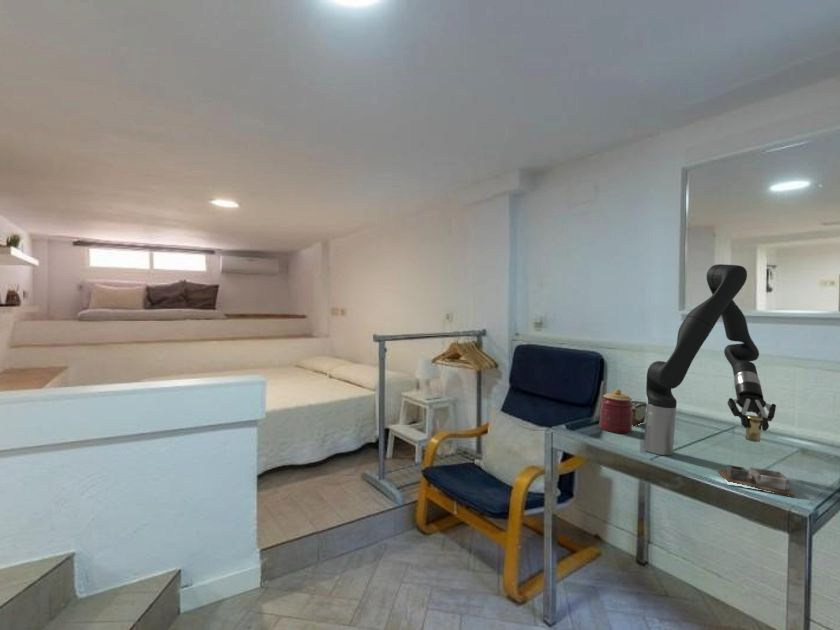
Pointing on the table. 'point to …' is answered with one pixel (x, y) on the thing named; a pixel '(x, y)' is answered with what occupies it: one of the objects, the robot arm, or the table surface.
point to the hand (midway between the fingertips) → (755, 427)
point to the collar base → (758, 479)
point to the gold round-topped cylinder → (753, 428)
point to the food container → (638, 412)
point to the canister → (616, 413)
